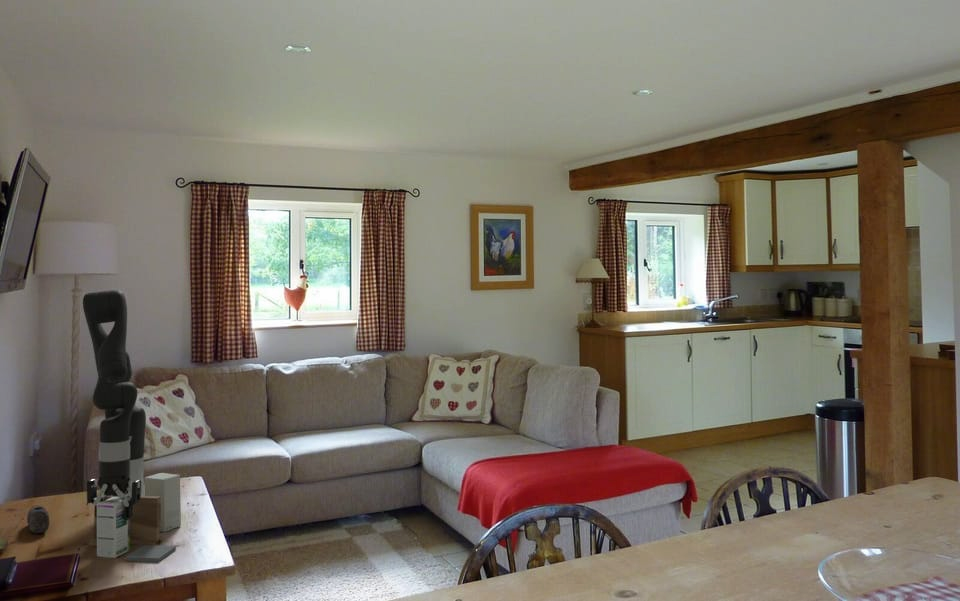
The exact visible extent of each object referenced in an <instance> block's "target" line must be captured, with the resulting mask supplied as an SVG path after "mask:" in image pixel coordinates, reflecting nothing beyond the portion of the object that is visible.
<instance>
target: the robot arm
mask: <svg viewBox="0 0 960 601" xmlns="http://www.w3.org/2000/svg"><path fill="white" fill-rule="evenodd" d="M82 308H83V313H84V318H85V322H86V324H87V327H88V332H89V334H90V338H91V344H92V349H93V354H94V360H95V361H94V362H95V367H96V370H97V382H96V385H95V388H94V391H93V395H92V402H93V406H94V407H95V408H96V409H98V410H100V411H101V410H102V411H104V416H105V417H104V419H102V420H101V421H100V424H99V447H98V471H97V473H98V478H97V479H96V478H91V479H89V480H87V481H86V502H87V503H88V504H93V505H94V510H95V517H96V519H97V503H98V502H102V501H104V500H105V498H106V497H107V496H111V495H112V496H118V497H119V499H120V500H122V501H123V503H124V505H125V507H124V520H129V519H130V518H131V517H132V515H133V504H136V503H138V502H139V501H140V498H141V496H145V485H144V478H145V477H144V464H145V463H144V460H145V458H144V453H145V435H146V424H147V422H146V420H147V415H146V411H145V409H144V408H143V407H139V406H137V407H135V405H136V402H137V398H138V395H139V394H138V388H137V386H136V385H135V384H134V383H133V382H130V381H131V378H132V375H133V370H132V364H131V359H130V355H129V353H128V351H127V350H126V346H127V345H126V344H127V330H128V306H127V300H126V297H125V294H124V292H123V291H122V290H119V289H114V290H113V289H112V290H102V291H94V292H88V293H85V294H84V295H83V298H82ZM107 323H114V324H113V326H112V328H111V330H110V332H109V333H107V332H106V330H105V329H104V327H103V326H102V324H107ZM97 487H99V488H100V491H99V492H98V488H97ZM97 493H98V494H97Z"/></svg>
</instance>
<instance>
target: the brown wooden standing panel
mask: <svg viewBox="0 0 960 601" xmlns="http://www.w3.org/2000/svg"><path fill="white" fill-rule="evenodd" d="M111 497H118V496H112V495H111V496H107V497H106V498H105V500H107V499H109V498H111ZM93 510H94V517H93V520H94V521H93V522H94V523H93V525H94V526H93V528H94V529H93V531H94V532H93V538H92V539H91V540H89V546H95V547H97V519H96V517H95V509H93ZM161 532H162V531H161V496H145V495H144V496H141V498H140V501H139V502H138V503H136V504H133V515H132V517H131V518H130V545H139V546H140V545H142V546H143V545H154V546H159V544H161V543H162V542H163V541H165V536H164V535H161Z"/></svg>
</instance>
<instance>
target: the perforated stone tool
mask: <svg viewBox="0 0 960 601" xmlns="http://www.w3.org/2000/svg"><path fill="white" fill-rule="evenodd" d="M50 520H51V519H50V515H49V513H48V510H47V508H45V507H44V506H42V505H34V506H32V507H30V509H29V510H28V512H27V518H26V521H27V522H26V523H27V526H28V529H29V531H30V532H31V533H33V534H41V533H46V532H47V531H48V529H49V527H50Z"/></svg>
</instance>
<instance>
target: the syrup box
mask: <svg viewBox="0 0 960 601" xmlns="http://www.w3.org/2000/svg"><path fill="white" fill-rule="evenodd" d="M124 507H125V505H124V503H123V501H122V500H120V499H119V497H111V498H109V499H107V500H104V501H102V502H98V503H97V546H96V556H97V557H99V558H100V557H101V558H106V559H117V558H118V557H119V556H122V555H125V554H126V553H128V552H130V551H131V548H130V547H131V546H130V545H131V544H130V519H129V520H124Z"/></svg>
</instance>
